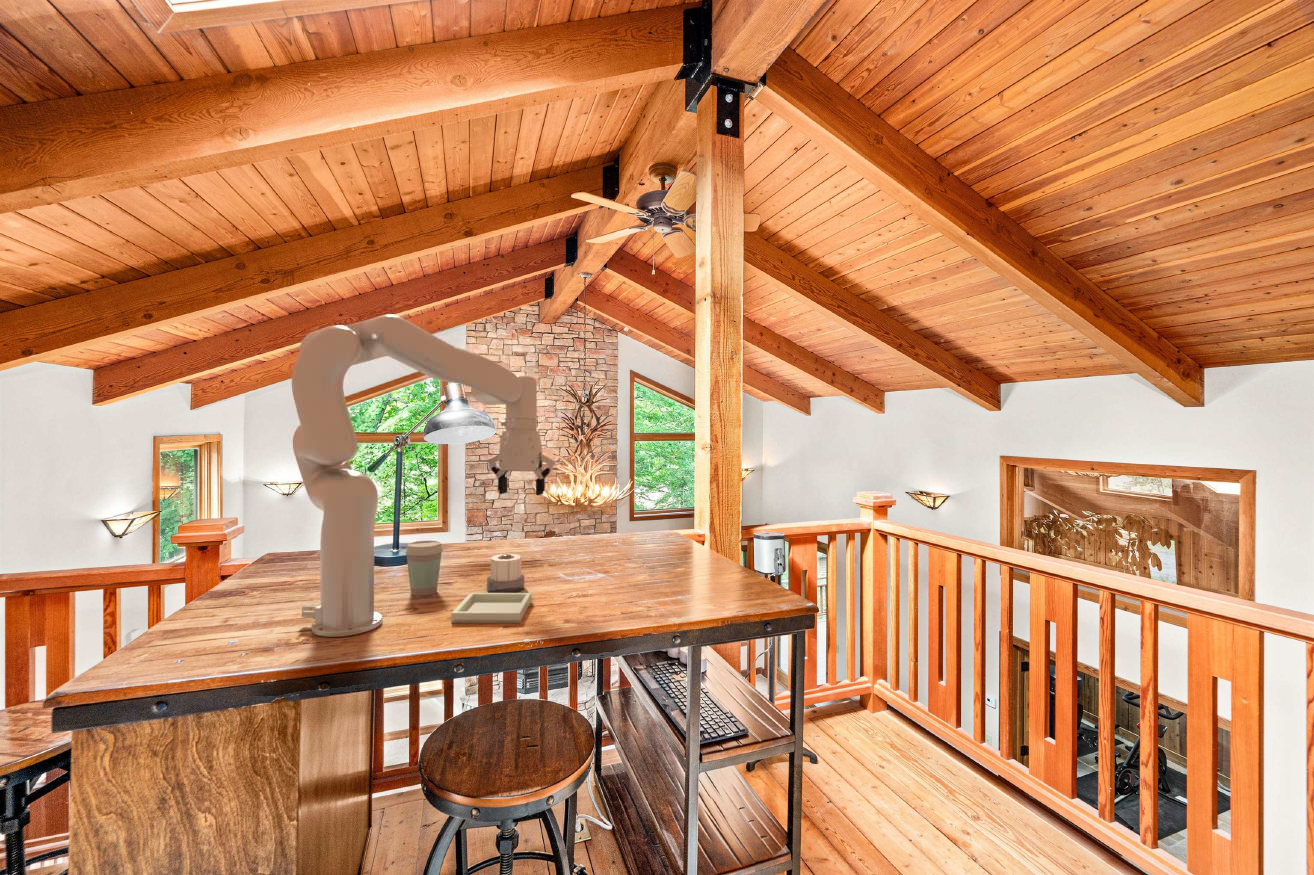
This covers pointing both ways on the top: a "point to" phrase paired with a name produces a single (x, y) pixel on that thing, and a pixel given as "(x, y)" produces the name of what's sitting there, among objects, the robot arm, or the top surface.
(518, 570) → the collar
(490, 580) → the grey peg stand
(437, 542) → the coffee cup
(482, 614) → the tray
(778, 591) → the top surface
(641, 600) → the top surface
